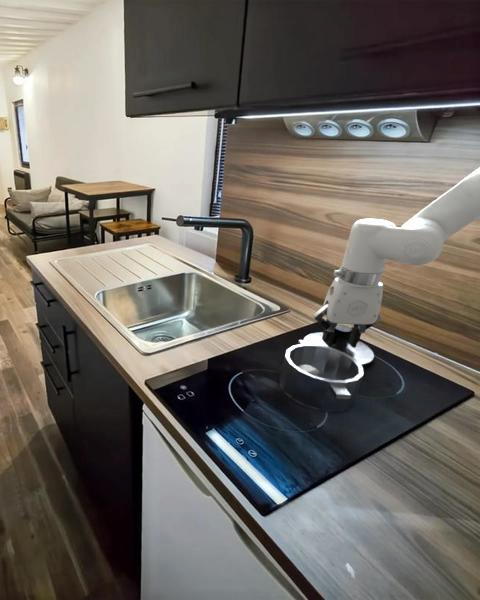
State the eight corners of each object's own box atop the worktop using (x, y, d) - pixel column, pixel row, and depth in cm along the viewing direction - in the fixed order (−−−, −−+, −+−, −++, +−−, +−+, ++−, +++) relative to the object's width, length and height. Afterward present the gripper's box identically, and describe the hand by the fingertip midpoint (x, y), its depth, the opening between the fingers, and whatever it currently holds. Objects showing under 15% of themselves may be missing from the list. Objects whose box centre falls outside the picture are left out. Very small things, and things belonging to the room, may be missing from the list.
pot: (329, 365, 86) (337, 338, 82) (374, 425, 69) (386, 394, 65) (267, 362, 88) (273, 336, 85) (296, 419, 71) (304, 389, 68)
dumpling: (297, 387, 81) (287, 371, 83) (321, 377, 80) (309, 361, 82) (298, 385, 75) (287, 368, 77) (324, 374, 74) (311, 356, 76)
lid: (353, 337, 96) (361, 314, 93) (386, 370, 83) (395, 345, 80) (294, 335, 98) (299, 313, 96) (316, 367, 85) (323, 342, 83)
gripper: (325, 281, 80) (307, 350, 88) (413, 282, 77) (386, 354, 85) (311, 269, 87) (296, 334, 94) (391, 269, 84) (369, 337, 92)
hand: (339, 343), depth 90 cm, fingers open, 4 cm apart
